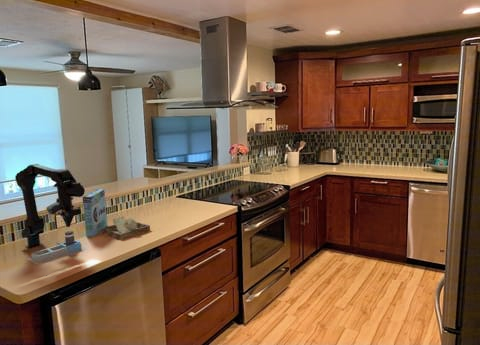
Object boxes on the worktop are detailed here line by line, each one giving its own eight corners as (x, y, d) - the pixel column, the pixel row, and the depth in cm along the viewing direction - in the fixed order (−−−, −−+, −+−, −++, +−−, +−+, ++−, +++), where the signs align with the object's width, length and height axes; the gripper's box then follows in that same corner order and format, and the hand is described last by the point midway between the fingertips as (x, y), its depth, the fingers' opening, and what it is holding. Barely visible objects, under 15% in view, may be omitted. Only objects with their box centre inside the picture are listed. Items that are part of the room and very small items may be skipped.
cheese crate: (102, 233, 208) (102, 228, 207) (131, 224, 222) (130, 220, 222) (121, 239, 196) (120, 234, 195) (150, 230, 210) (149, 225, 209)
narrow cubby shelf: (27, 260, 171) (26, 251, 170) (75, 246, 188) (74, 237, 188) (37, 267, 163) (36, 257, 163) (86, 251, 181) (85, 242, 180)
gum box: (100, 225, 222) (96, 189, 218) (108, 225, 222) (104, 189, 218) (85, 236, 203) (81, 196, 199) (94, 236, 203) (90, 196, 199)
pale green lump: (139, 239, 202) (142, 216, 212) (131, 232, 197) (134, 210, 207) (116, 245, 206) (120, 223, 216) (108, 239, 201) (112, 217, 211)
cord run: (56, 245, 190) (55, 243, 190) (58, 244, 191) (58, 242, 191) (64, 249, 184) (64, 247, 184) (66, 248, 185) (66, 246, 185)
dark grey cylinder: (64, 250, 180) (62, 232, 179) (73, 247, 184) (71, 230, 182) (68, 252, 178) (66, 234, 176) (77, 249, 181) (75, 232, 179)
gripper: (39, 196, 176) (43, 227, 178) (56, 201, 164) (60, 234, 167) (62, 192, 184) (65, 222, 187) (80, 197, 172) (83, 228, 175)
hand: (68, 226), depth 179 cm, fingers closed
